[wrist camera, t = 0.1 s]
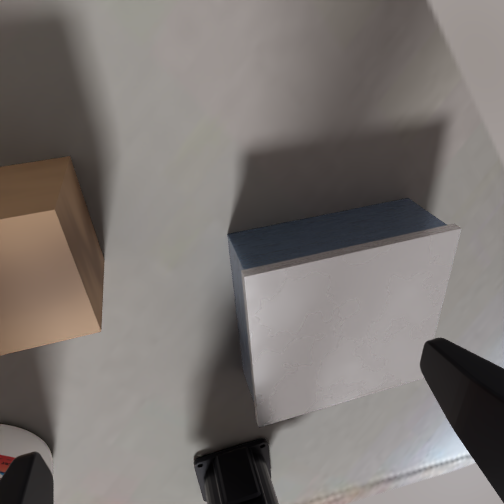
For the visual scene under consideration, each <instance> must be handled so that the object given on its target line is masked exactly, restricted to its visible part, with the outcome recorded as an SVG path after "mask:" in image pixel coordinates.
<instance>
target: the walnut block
mask: <svg viewBox="0 0 504 504" xmlns="http://www.w3.org/2000/svg"><path fill="white" fill-rule="evenodd" d="M103 280H104V257H103V254H102V251H101V248H100V245H99V242H98V239H97V236H96V233H95V230H94V227H93V224H92V221H91V218H90V215H89V212H88V209H87V206H86V203H85V200H84V197H83V194H82V191H81V188H80V185H79V182H78V179H77V176H76V173H75V170H74V167H73V164H72V161H71V158H70V156H67V157H61V158H54V159H48V160H42V161H35V162H29V163H22V164H16V165H10V166H3V167H0V356H1V355H5V354H9V353H14V352H18V351H22V350H26V349H30V348H35V347H39V346H43V345H47V344H51V343H56V342H60V341H64V340H68V339H72V338H77V337H81V336H85V335H89V334H93V333H98V332H101V324H102V302H103Z"/></svg>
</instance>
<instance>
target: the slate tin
mask: <svg viewBox="0 0 504 504" xmlns="http://www.w3.org/2000/svg"><path fill="white" fill-rule="evenodd" d="M461 229H462V228H460V227H459V226H457V225H456V224H450V225H446V224H445V223H444V222H442V221H441V220H439V219H438V218H436V217H435V216H433V215H432V214H431V213H429V212H428V211H426V210H425V209H423V208H422V207H420V206H419V205H418V204H416V203H415V202H413V201H412V200H410V199H409V198H406V199H401V200H396V201H391V202H386V203H381V204H376V205H371V206H366V207H361V208H356V209H351V210H346V211H341V212H336V213H331V214H326V215H321V216H316V217H311V218H306V219H301V220H296V221H291V222H286V223H281V224H276V225H271V226H266V227H261V228H256V229H251V230H246V231H241V232H236V233H231V234H227V236H228V244H229V253H230V262H231V270H232V279H233V287H234V296H235V305H236V313H237V322H238V330H239V339H240V348H241V356H242V365H243V372H244V375H245V378H246V381H247V384H248V387H249V390H250V393H251V396H252V399H253V402H254V405H255V414H256V421H257V424H258V427H263V426H266V425H269V424H273V423H276V422H279V421H283V420H286V419H289V418H293V417H296V416H299V415H303V414H306V413H309V412H313V411H316V410H319V409H323V408H326V407H329V406H333V405H336V404H339V403H343V402H346V401H349V400H353V399H356V398H359V397H363V396H366V395H369V394H373V393H376V392H380V391H383V390H386V389H390V388H393V387H396V386H400V385H403V384H406V383H410V382H413V381H416V380H420V379H423V378H424V376H423V374H422V372H421V369H420V359H421V355H422V350H423V346H424V343H425V342H426V341H428V340H432V339H434V337H435V333H436V329H437V325H438V321H439V317H440V313H441V309H442V305H443V301H444V297H445V293H446V289H447V285H448V281H449V277H450V273H451V269H452V265H453V261H454V257H455V253H456V249H457V245H458V241H459V237H460V233H461Z"/></svg>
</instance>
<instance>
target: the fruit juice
mask: <svg viewBox="0 0 504 504" xmlns="http://www.w3.org/2000/svg"><path fill="white" fill-rule="evenodd" d="M34 451H36V452H39V453H40V455H41V456H42V458H43V459H44V461H45V462H46V464H47V466H48V467H49V469H50V470H51V472H52V475H53V458H52V454H51V451H50V449H49V447H48V446H47V444H46V443H45V442H44V441H43V440H42V439H41V438H39V437H38V436H37V435H35V434H33V433H31V432H29V431H27V430H24V429H21V428H18V427H15V426H10V425H5V424H0V479H1V478H2V476H3V474H4V473H5V471H6V470H7V468H8V467H9V465H10V464H11V462H12V461H13V460H14V459H15V458H16V457H17V456H20V455H23V454H27V453H30V452H34Z"/></svg>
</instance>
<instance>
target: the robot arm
mask: <svg viewBox="0 0 504 504" xmlns="http://www.w3.org/2000/svg"><path fill="white" fill-rule="evenodd" d="M420 369H421V372H422V374H423V376H424V378H425V380H426V381H427V383H428V385H429V387H430V389H431V390H432V392H433V394H434V396H435V398H436V399H437V401H438V403H439V405H440V407H441V409H442V410H443V412H444V414H445V416H446V418H447V419H448V421H449V423H450V424H451V426H452V428H453V429H454V431H455V433H456V434H457V436H458V437H459V439H460V440H461V441H462V443H463V444H464V446H465V447H466V449H467V450H468V452H469V453H470V455H471V456H472V457H473V459H474V460H475V462H476V463H477V465H478V466H479V468H480V469H481V470H482V472H483V473H484V475H485V476H486V478H487V479H488V481H489V482H490V484H491V485H492V486H493V488H494V489H495V491H496V492H497V494H498V495H499V497H500V498H501V500H502V501H503V503H504V369H503V368H501V367H499V366H497V365H495V364H494V363H492V362H490V361H488V360H486V359H484V358H482V357H480V356H478V355H476V354H474V353H472V352H470V351H468V350H466V349H464V348H462V347H460V346H458V345H456V344H454V343H452V342H450V341H448V340H446V339H444V338H435V339H432V340H428V341H426V342H425V343H424V346H423V350H422V355H421V359H420ZM194 467H195V471H196V475H197V478H198V482H199V486H200V489H201V493H202V496H203V500H204V501H207V504H279V503H278V500H277V497H276V494H275V491H274V488H273V484H272V481H271V470H270V458H269V447H268V442H267V440H266V439H264V438H263V439H259V440H256V441H252V442H249V443H246V444H243V445H239V446H236V447H233V448H230V449H226V450H223V451H220V452H217V453H213V454H210V455H207V456H204V457H200V458H198V459H196V460H195V461H194ZM0 504H53V475H52V472H51V470H50V469H49V467H48V466H47V464H46V462H45V461H44V459H43V458H42V456H41V455H40V453H39V452H36V451H34V452H30V453H27V454H23V455H20V456H17V457H16V458H15V459H14V460H13V461H12V462H11V464H10V465H9V467H8V468H7V470H6V471H5V473H4V474H3V476H2V478H1V479H0Z"/></svg>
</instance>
